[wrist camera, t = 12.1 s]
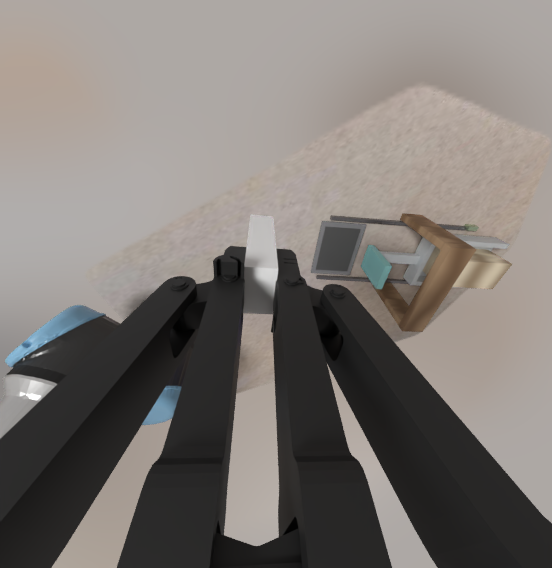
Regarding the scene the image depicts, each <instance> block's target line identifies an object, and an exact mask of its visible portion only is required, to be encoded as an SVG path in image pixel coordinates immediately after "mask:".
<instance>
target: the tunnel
mask: <svg viewBox="0 0 552 568" xmlns="http://www.w3.org/2000/svg"><path fill="white" fill-rule="evenodd" d="M400 220H401V221H403V222H404V223H405V224H407V225H408V226H409V227H411V228H412V229H413V230H415V231H416V232H417V233H419V234H420V235H421V236H423V237H424V238H425V239H427V240H428V241H429V242H431V243H432V244H433V245H435V246H436V247H437V248H439V249H440V250H441V251H440V253H439V254H438V256H437V258H436V260H435V262H434V263H433V265H432V267H431V269H430V270H429V272H428V274H427V276H426V277H425V279H424V281H423V283H422V285H421V286H420V288H419V290H418V292H417V293H416V295H415V297H414V299H413V300H412V302H411V304H410V306H408V304H407V303H406V302H405V301H404V299H403V298H402V297H401V295H400V294H399V293H398V291H397V290H396V289H395V287H394V286H393V285H392V284H391V283H384V285H383V288H382V289H375V290H376V291H377V293H378V295H379V296H380V298H381V299H382V301H383V302H384V304H385V305H386V307H387V308H388V310H389V312H390V313H391V315H392V316H393V318H394V319H395V321H396V322H397V324H398V325H399V327H400V329H401V330H402V331H412V332H422V331H423V330H424V328H425V327H426V325H427V324H428V322H429V321H430V319H431V318H432V316H433V315H434V313H435V312H436V310H437V309H438V307H439V306H440V304H441V303H442V301H443V300H444V298H445V297H446V295H447V294H448V292H449V291H450V289H451V288H452V286H453V285H454V283H455V282H456V280H457V279H458V277H459V276H460V274H461V273H462V271H463V270H464V268H465V267H466V265H467V264H468V262H469V261H470V259H471V258H472V256H473V255H474V253H475V252H476V250H477V249H475V248H474V247H472V246H471V245H469V244H467V243H466V242H464V241H463V240H461V239H459V238H458V237H456V236H455V235H453V234H451V233H450V232H448V231H447V230H445V229H443V228H442V227H440V226H439V225H437V224H435V223H434V222H432V221H431V220H429V219H427V218H426V217H424V216H423V215H415V214H402V216H401V219H400ZM373 287H374V286H373ZM374 288H375V287H374Z"/></svg>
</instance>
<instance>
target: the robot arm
mask: <svg viewBox="0 0 552 568" xmlns="http://www.w3.org/2000/svg"><path fill="white" fill-rule="evenodd" d="M213 265H214V279H213V280H212V281H210V282H206V283H201V284H196V283H195V281H194V280H193V279H192V278H190V277H185V276H179V277H173V278H171V279H168V280H167V281H165V282H164V283H163V284H162V285H161V286H160V287H159V288H158V289H157V290H156V291H155V292H154V293H153V294H151V295H150V296H149V297H148V298H147V299H146V300H145V301H144V302H143V303H142V304H141V305H140V306H139V307H138V308H137V309H136V310H135V311H134V312H133V313H132V314H131V315H129V316H128V317H127V318H126V319H125V320H124V321H123V322H122V323H121V324H120V323H118V322H116V321H114V320H112V319H111V318H109V317H107V316H106V315H105V314H103V313H99V312H97V311H95V310H93V309H90V308H88V307H86V306H83V305H75V306H72V307H70V308H68V309H66V310H64V311H63V312H61V313H60V314H58V315H57V316H55V317H54V318H53V319H52V320H50V321H49V322H48V323H46V324H45V325H43V326H42V327H41V328H40V329H38V330H37V331H36V332H35V333H33V334H32V335H31V336H30V337H29V338H28V339H27V340H26V341H24V342H23V343H22V344H21V345H20V346H19V347H17V348H16V349H15V350H14V351H13V352H12V353H11V354H10V355H9V356H8V357H7V358H6V360H5V362H6V363H7V364H8V366H9V367H14V368H13V369H12V370H11V371H10V372H9V373H8V374H7V375H6V376H5V377H4V378H3V380H2V381H3V387H4V396H3V398H2V399H1V400H0V568H51V567H52V566H53V564H54V563H55V561H56V560H57V558H58V557H59V555H60V554H61V552H62V551H63V549H64V548H65V546H66V545H67V543H68V541H69V540H70V538H71V537H72V535H73V533H74V532H75V530H76V529H77V527H78V525H79V524H80V522H81V521H82V519H83V518H84V516H85V514H86V513H87V511H88V509H89V508H90V506H91V504H92V503H93V501H94V500H95V498H96V497H97V495H98V494H99V492H100V490H101V489H102V487H103V486H104V484H105V482H106V481H107V479H108V478H109V476H110V474H111V473H112V471H113V470H114V468H115V467H116V465H117V463H118V462H119V460H120V459H121V457H122V455H123V454H124V452H125V451H126V449H127V447H128V446H129V444H130V442H131V441H132V439H133V438H134V436H135V435H136V433H137V431H138V430H139V428H140V426H141V425H150V424H157V423H161V422H165V421H167V420H169V419H171V418H172V421H171V425H170V428H169V431H168V435H167V439H166V441H165V445H164V448H163V451H162V454H161V456H160V457H159V459H158V460H157V461H156V462H155V463H154V464H153V465H152V467H151V469H150V471H149V473H148V475H147V477H146V480H145V483H144V485H143V488H142V491H141V494H140V497H139V500H138V503H137V506H136V509H135V513H134V516H133V519H132V522H131V525H130V528H129V531H128V534H127V538H126V541H125V544H124V547H123V550H122V553H121V556H120V560H119V562H118V566H117V568H392V566H391V562H390V559H389V555H388V552H387V549H386V545H385V541H384V538H383V534H382V531H381V527H380V524H379V520H378V517H377V513H376V509H375V506H374V502H373V499H372V495H371V492H370V488H369V485H368V481H367V479H366V476H365V473H364V470H363V468H362V466H361V465H360V463H359V461H358V460H357V459H355V458H354V457H353V456H352V455H351V453H350V451H349V448H348V445H347V442H346V437H345V434H344V430H343V426H342V422H341V418H340V414H339V410H338V406H337V402H336V398H335V394H334V390H333V387H332V382H331V379H330V375H329V370H328V367H327V364H328V366H329V368H330V370H331V371H332V373H333V375H334V377H335V379H336V381H337V383H338V385H339V387H340V388H341V390H342V392H343V394H344V396H345V398H346V400H347V402H348V404H349V405H350V407H351V409H352V411H353V413H354V415H355V417H356V419H357V421H358V422H359V424H360V426H361V428H362V430H363V432H364V434H365V436H366V438H367V439H368V441H369V443H370V445H371V447H372V449H373V451H374V453H375V455H376V457H377V459H378V460H379V462H380V464H381V466H382V468H383V470H384V472H385V473H386V475H387V477H388V479H389V481H390V483H391V485H392V487H393V489H394V491H395V493H396V494H397V496H398V498H399V500H400V502H401V504H402V506H403V508H404V510H405V512H406V513H407V515H408V517H409V519H410V521H411V523H412V525H413V527H414V529H415V530H416V532H417V534H418V535H419V537H420V539H421V541H422V543H423V544H424V546H425V548H426V549H427V551H428V553H429V555H430V557H431V558H432V560H433V561H434V563H435V564H436V566H437V567H438V568H552V523H551V522H549V521H548V520H547V519H546V518H545V517H544V516H543V515H542V514H541V513H540V512H539V511H538V509H537V508H536V507H535V506H534V505H533V504H532V502H531V501H530V500H529V499H528V498H527V497H526V495H525V494H524V493H523V492H522V491H521V490H520V489H519V487H518V486H517V485H516V484H515V483H514V481H513V480H512V479H511V478H510V477H509V476H508V474H507V473H506V472H505V471H504V470H503V469H502V467H501V466H500V465H499V464H498V463H497V462H496V461H495V459H494V458H493V457H492V456H491V455H490V454H489V452H488V451H487V450H486V449H485V448H484V447H483V446H482V444H481V443H480V442H479V441H478V440H477V438H476V437H475V436H474V435H473V434H472V433H471V431H470V430H469V429H468V428H467V427H466V426H465V424H464V423H463V422H462V421H461V420H460V419H459V417H458V416H457V415H456V414H455V413H454V412H453V411H452V409H451V408H450V407H449V406H448V405H447V404H446V402H445V401H444V400H443V399H442V398H441V396H440V395H439V394H438V393H437V392H436V391H435V390H434V388H433V387H432V386H431V385H430V384H429V382H428V381H427V380H426V379H425V378H424V377H423V375H422V374H421V373H420V372H419V371H418V370H417V369H416V367H415V366H414V365H413V364H412V363H411V362H410V360H409V359H408V358H407V357H406V356H405V354H404V353H403V352H402V351H401V350H400V349H399V347H398V346H397V345H396V344H395V343H394V342H393V340H392V339H391V338H390V337H389V336H388V335H387V333H386V332H385V331H384V330H383V329H382V328H381V326H380V325H379V324H378V323H377V322H376V321H375V319H374V318H373V317H372V316H371V315H370V314H369V312H368V311H367V310H366V309H365V308H364V307H363V305H362V304H361V303H360V302H359V301H358V300H357V299H356V297H355V296H354V295H353V294H352V293H351V292H350V291H349V290H348V289H347V288H345V287H343V286H341V285H337V284H329V285H326V286H325V287H324V288H323V291H322V290H318V289H315V288H312V287H309V286H307V284H306V281H305V279H304V278H302V277H301V276H300V271H299V267H298V263H297V259H296V254H295V253H294V252H293V251H292V250H286V249H276V240H275V230H274V220H273V216H262V215H251V216H250V224H249V232H248V240H247V247H235V246H230V247H228V248H227V249H226V250H225V253H224V255H221V256H218V257H216V258H215V259H214V261H213ZM243 313H255V314H273V321H272V329H271V332H273V347H274V371H275V395H276V417H277V418H276V419H277V441H278V466H279V506H278V507H279V508H278V523H279V538H276V539H274V540H272V541H270V542H268V543H265V544H263V545H261V546H252V545H250V544H247V543H244V542H241V541H238V540H235V539H232V538H229V537H227V536H224V526H225V514H226V498H227V483H228V474H229V463H230V452H231V442H232V431H233V420H234V410H235V399H236V389H237V378H238V367H239V357H240V346H241V335H242V325H243ZM326 362H327V363H326Z"/></svg>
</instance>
